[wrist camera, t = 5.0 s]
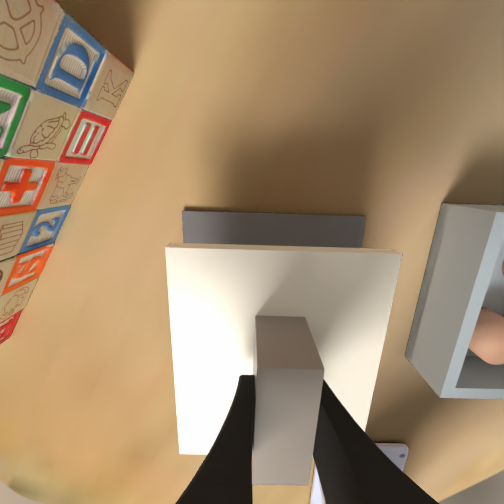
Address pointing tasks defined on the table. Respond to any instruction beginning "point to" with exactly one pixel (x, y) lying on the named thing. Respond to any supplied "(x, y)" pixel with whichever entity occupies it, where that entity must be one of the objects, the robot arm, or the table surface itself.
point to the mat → (272, 229)
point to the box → (462, 305)
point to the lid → (275, 341)
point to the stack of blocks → (46, 134)
